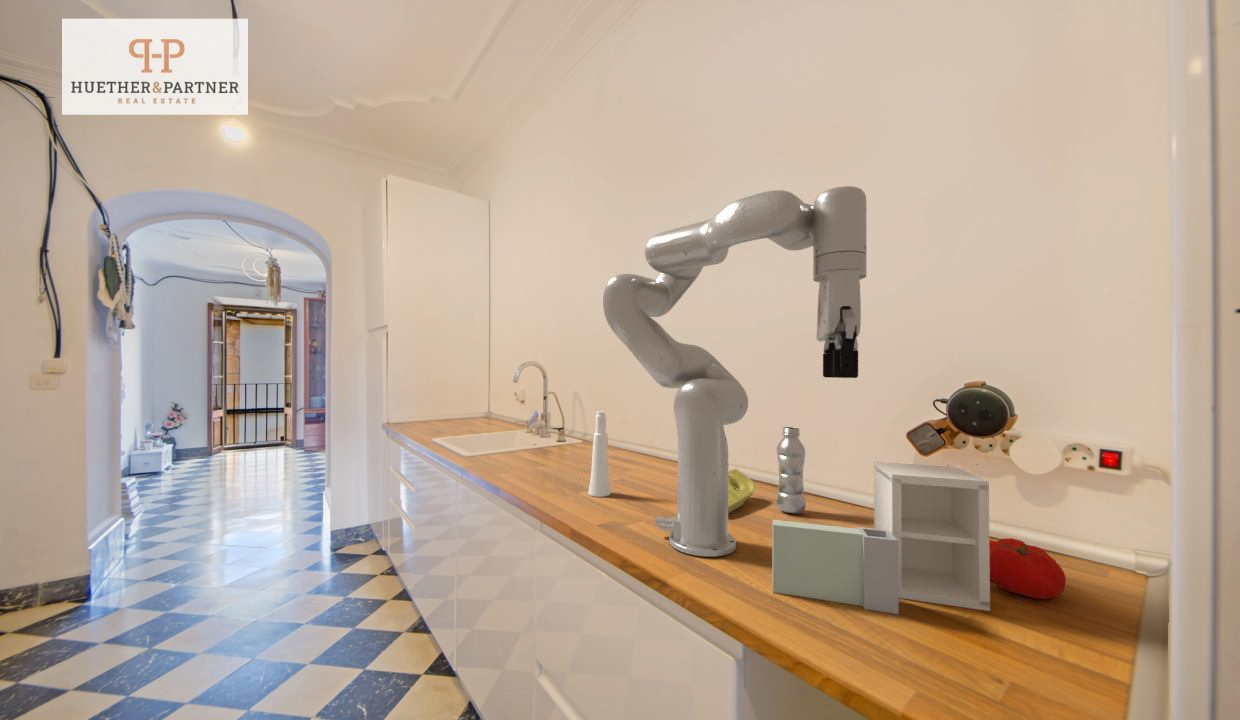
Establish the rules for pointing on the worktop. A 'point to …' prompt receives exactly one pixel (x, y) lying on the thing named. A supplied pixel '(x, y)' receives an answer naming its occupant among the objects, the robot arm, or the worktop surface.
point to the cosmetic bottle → (600, 460)
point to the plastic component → (738, 489)
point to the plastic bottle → (791, 472)
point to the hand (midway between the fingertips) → (839, 377)
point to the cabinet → (936, 532)
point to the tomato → (1025, 569)
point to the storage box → (836, 564)
